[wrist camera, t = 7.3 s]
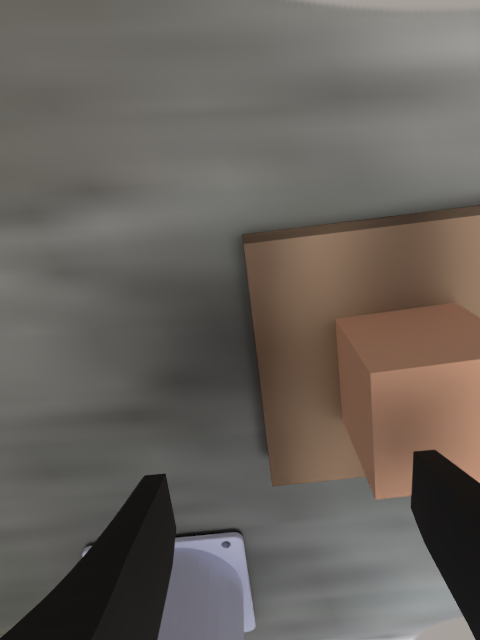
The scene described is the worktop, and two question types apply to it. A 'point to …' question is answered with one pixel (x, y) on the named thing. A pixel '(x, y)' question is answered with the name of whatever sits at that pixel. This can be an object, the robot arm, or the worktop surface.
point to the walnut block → (339, 302)
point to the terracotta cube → (410, 391)
